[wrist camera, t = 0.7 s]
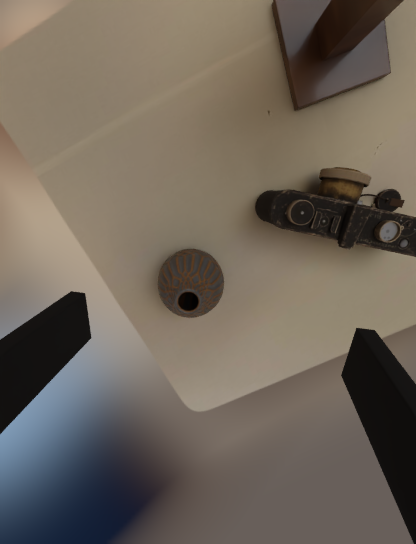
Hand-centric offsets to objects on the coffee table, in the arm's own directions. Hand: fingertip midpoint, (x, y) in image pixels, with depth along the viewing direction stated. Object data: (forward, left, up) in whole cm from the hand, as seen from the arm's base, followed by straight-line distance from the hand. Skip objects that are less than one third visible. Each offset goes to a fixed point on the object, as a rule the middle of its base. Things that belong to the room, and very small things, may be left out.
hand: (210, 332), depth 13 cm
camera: (0, +15, -18) cm, 24 cm away
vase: (+2, -2, -18) cm, 19 cm away
